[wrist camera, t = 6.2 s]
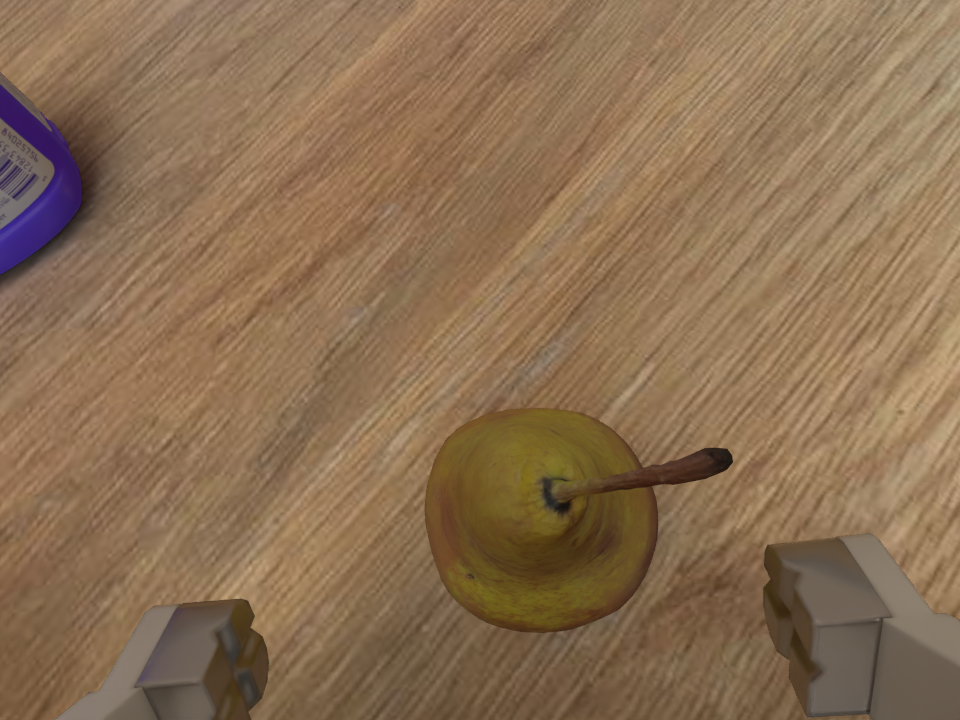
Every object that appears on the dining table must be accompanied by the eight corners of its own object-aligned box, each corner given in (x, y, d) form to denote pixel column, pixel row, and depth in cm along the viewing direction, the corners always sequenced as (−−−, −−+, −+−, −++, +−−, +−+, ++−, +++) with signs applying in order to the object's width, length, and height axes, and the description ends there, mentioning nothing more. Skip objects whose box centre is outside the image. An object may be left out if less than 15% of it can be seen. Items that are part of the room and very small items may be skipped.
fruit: (541, 389, 21) (504, 147, 10) (687, 533, 19) (847, 437, 8) (402, 519, 20) (191, 416, 9) (540, 681, 19) (489, 803, 7)
